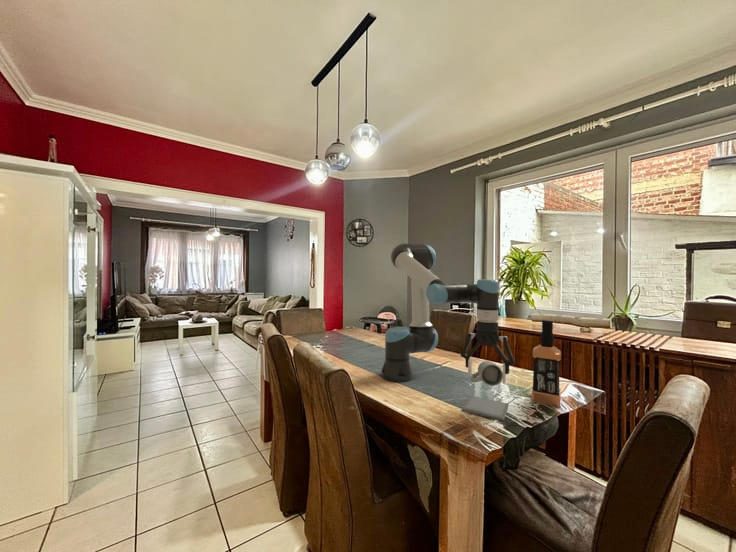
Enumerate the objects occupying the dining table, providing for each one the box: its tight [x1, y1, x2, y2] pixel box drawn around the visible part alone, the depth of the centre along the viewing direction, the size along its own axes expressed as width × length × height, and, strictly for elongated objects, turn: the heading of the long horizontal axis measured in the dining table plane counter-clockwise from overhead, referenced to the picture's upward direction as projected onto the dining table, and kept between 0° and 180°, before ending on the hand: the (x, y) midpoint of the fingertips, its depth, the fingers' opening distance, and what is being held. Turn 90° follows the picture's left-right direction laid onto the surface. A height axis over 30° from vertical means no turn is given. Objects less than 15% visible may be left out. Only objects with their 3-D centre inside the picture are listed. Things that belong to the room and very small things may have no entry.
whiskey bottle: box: [530, 319, 562, 408], centre depth 122 cm, size 10×10×32 cm
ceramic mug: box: [469, 360, 503, 387], centre depth 113 cm, size 11×8×8 cm
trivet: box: [461, 395, 510, 422], centre depth 114 cm, size 14×14×1 cm
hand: (486, 379), depth 113 cm, fingers closed on ceramic mug, 11 cm apart
